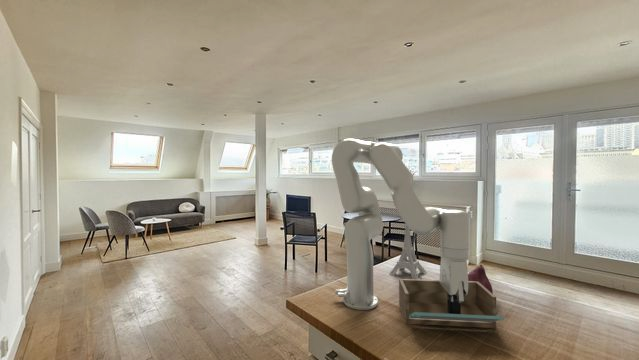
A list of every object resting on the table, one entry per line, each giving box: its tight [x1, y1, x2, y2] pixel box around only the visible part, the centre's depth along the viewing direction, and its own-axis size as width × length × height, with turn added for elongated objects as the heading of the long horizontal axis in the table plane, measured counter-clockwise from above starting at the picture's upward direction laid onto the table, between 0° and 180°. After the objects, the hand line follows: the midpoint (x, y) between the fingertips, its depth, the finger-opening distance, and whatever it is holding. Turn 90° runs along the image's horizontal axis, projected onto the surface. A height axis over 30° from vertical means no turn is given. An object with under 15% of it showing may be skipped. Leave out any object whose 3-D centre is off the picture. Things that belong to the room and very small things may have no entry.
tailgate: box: [410, 312, 504, 323], centre depth 81 cm, size 24×1×8 cm
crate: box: [398, 278, 497, 329], centre depth 90 cm, size 27×12×10 cm, turn 83°
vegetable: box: [468, 264, 494, 295], centre depth 101 cm, size 10×10×15 cm
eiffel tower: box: [388, 224, 428, 280], centre depth 128 cm, size 13×13×30 cm
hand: (453, 313), depth 80 cm, fingers closed
